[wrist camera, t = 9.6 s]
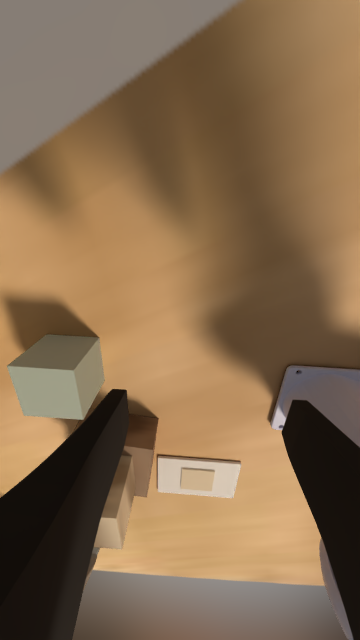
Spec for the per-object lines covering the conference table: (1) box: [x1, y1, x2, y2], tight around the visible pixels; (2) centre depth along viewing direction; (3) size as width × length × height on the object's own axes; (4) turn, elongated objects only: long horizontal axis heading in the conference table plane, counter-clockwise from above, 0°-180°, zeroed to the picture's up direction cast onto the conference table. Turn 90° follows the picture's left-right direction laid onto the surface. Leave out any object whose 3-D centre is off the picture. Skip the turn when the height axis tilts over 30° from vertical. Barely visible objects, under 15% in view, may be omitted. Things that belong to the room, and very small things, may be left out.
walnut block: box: [73, 408, 158, 497], centre depth 25 cm, size 8×8×4 cm
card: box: [158, 456, 241, 498], centre depth 28 cm, size 10×7×1 cm
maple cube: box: [94, 455, 136, 549], centre depth 21 cm, size 5×5×5 cm
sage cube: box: [7, 334, 105, 420], centre depth 20 cm, size 5×5×5 cm
